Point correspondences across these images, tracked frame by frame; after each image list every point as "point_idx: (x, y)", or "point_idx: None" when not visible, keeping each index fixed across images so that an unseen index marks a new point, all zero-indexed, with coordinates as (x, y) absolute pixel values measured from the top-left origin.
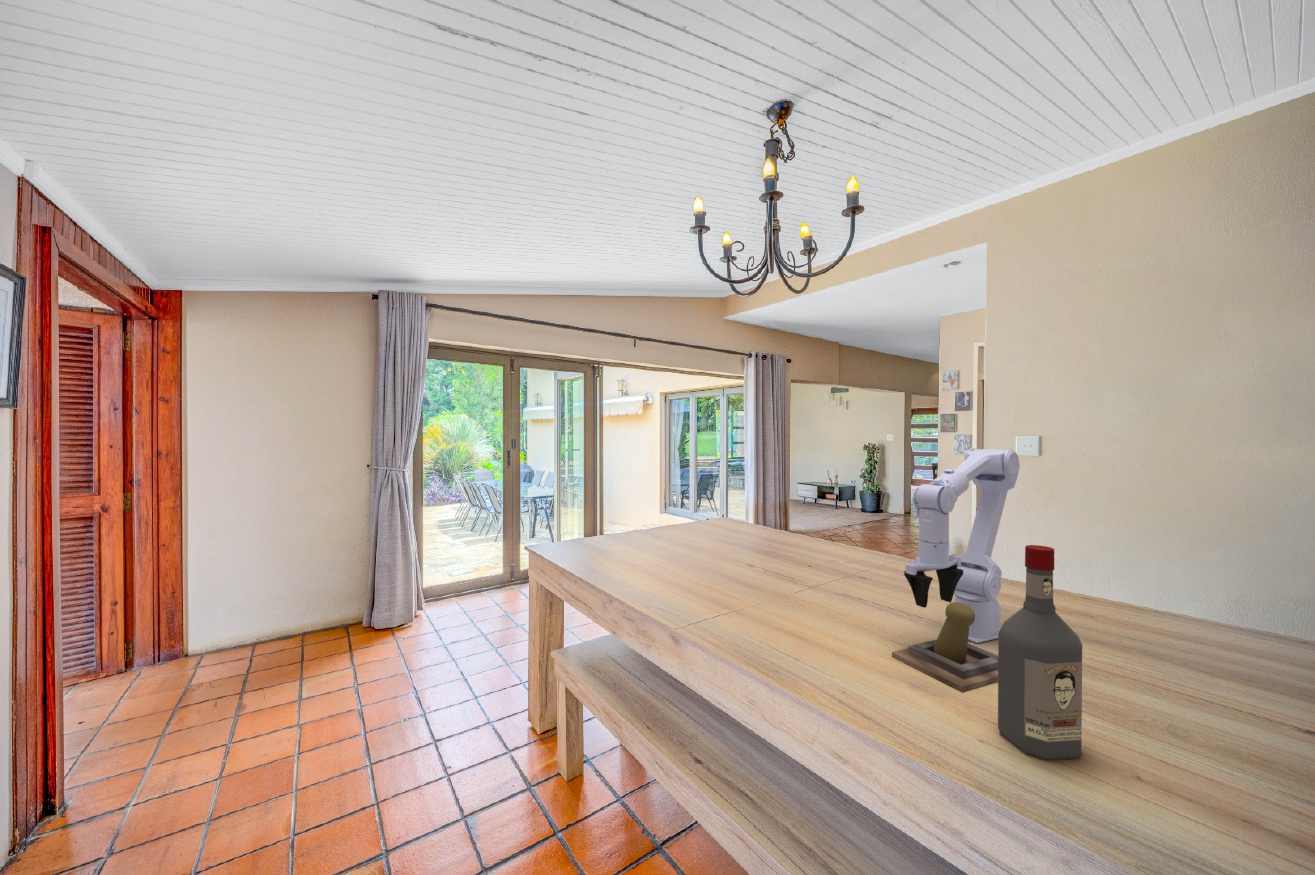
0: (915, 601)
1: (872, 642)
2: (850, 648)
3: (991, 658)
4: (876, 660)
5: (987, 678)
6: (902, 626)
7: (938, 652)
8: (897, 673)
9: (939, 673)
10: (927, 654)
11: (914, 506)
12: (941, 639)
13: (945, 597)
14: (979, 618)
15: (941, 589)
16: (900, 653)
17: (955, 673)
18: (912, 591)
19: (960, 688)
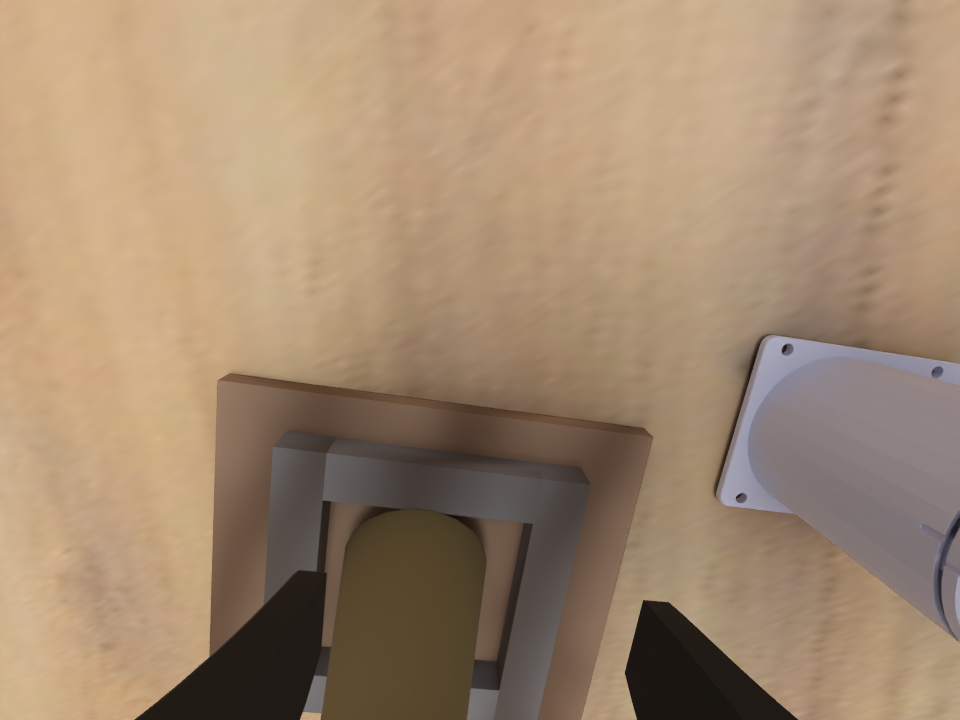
0: (279, 591)
1: (286, 201)
2: (101, 183)
3: (488, 698)
4: (124, 358)
5: None
6: (651, 148)
7: (343, 560)
8: (112, 487)
9: (226, 612)
10: (269, 550)
11: None
12: (336, 620)
13: (646, 672)
14: (849, 555)
15: (698, 695)
16: (242, 414)
17: None
18: (195, 669)
19: None
